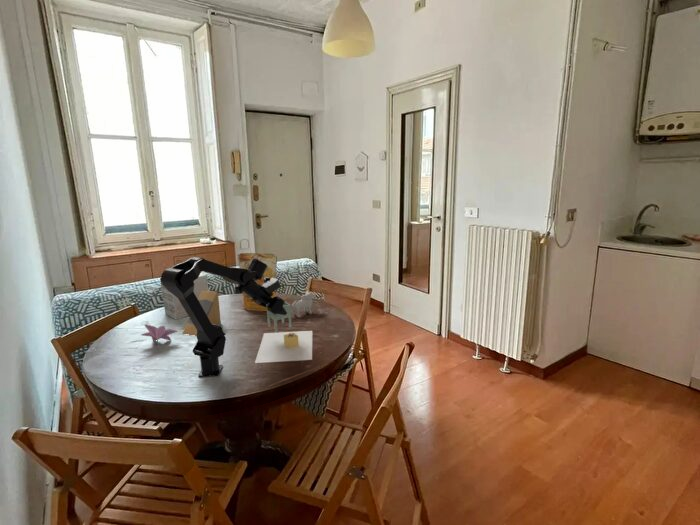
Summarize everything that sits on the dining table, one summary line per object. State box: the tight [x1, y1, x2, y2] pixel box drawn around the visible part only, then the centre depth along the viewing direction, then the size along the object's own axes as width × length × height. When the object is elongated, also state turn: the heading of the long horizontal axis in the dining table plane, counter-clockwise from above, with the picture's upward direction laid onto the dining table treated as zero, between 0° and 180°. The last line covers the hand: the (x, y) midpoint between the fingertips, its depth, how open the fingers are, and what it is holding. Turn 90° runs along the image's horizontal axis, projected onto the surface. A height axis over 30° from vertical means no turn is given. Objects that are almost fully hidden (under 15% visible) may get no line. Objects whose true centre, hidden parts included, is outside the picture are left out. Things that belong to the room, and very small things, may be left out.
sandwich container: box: [181, 290, 222, 337], centre depth 157 cm, size 9×15×15 cm, turn 162°
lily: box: [141, 324, 178, 343], centre depth 142 cm, size 12×12×10 cm
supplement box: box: [160, 272, 209, 320], centre depth 177 cm, size 17×13×18 cm
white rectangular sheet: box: [254, 330, 313, 364], centre depth 141 cm, size 25×20×1 cm
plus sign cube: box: [284, 333, 299, 348], centre depth 140 cm, size 4×4×4 cm
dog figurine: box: [291, 290, 317, 318], centre depth 173 cm, size 5×13×11 cm, turn 133°
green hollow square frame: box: [266, 301, 293, 333], centre depth 146 cm, size 7×7×10 cm
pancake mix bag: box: [237, 252, 278, 312], centre depth 178 cm, size 7×19×28 cm, turn 79°
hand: (281, 311), depth 146 cm, fingers closed on green hollow square frame, 7 cm apart
